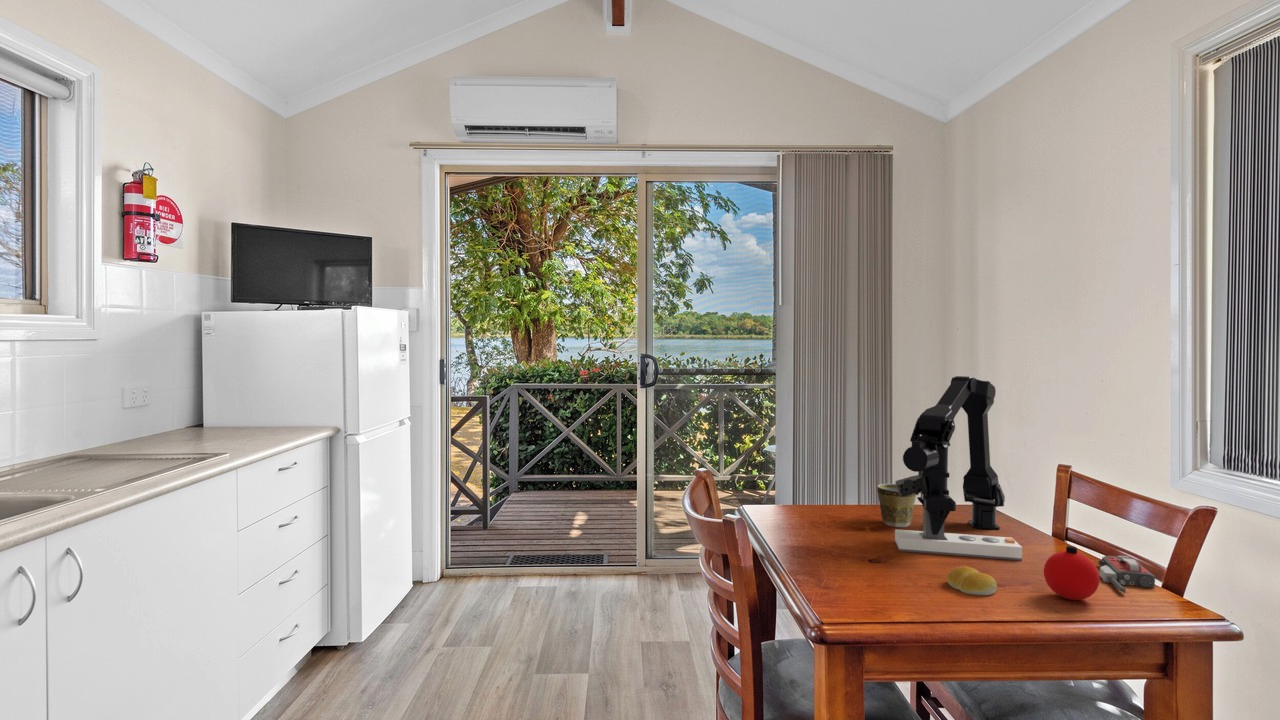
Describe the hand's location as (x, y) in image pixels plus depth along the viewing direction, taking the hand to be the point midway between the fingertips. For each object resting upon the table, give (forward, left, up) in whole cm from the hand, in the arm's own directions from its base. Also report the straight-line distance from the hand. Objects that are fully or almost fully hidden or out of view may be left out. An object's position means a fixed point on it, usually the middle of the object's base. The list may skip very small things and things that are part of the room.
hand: (933, 532), depth 159 cm
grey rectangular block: (0, 0, -2) cm, 3 cm away
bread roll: (+26, +3, -4) cm, 26 cm away
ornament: (+27, +20, -4) cm, 34 cm away
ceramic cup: (-23, -6, -4) cm, 24 cm away
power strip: (0, +5, -4) cm, 6 cm away
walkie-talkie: (+13, +35, -5) cm, 38 cm away
